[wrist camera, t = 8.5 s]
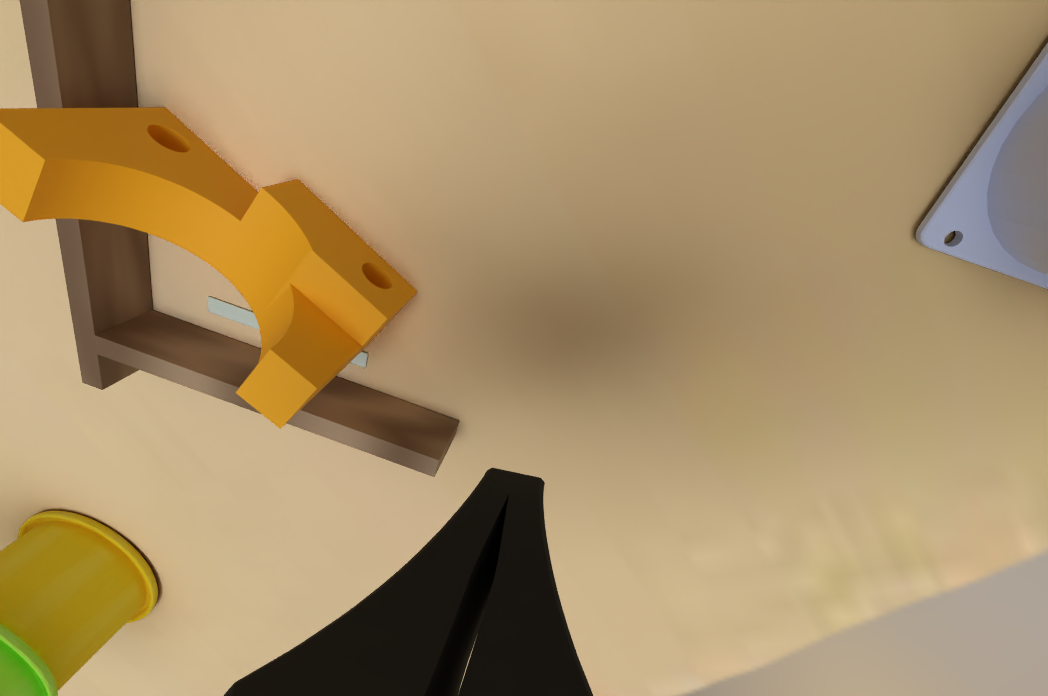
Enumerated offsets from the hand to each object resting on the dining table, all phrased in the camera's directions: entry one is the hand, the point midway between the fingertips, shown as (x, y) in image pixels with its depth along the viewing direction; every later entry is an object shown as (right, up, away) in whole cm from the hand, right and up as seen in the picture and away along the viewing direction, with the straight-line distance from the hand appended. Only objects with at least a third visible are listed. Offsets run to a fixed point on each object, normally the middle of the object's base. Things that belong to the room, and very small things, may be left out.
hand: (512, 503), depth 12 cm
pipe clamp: (-10, +9, +9) cm, 16 cm away
